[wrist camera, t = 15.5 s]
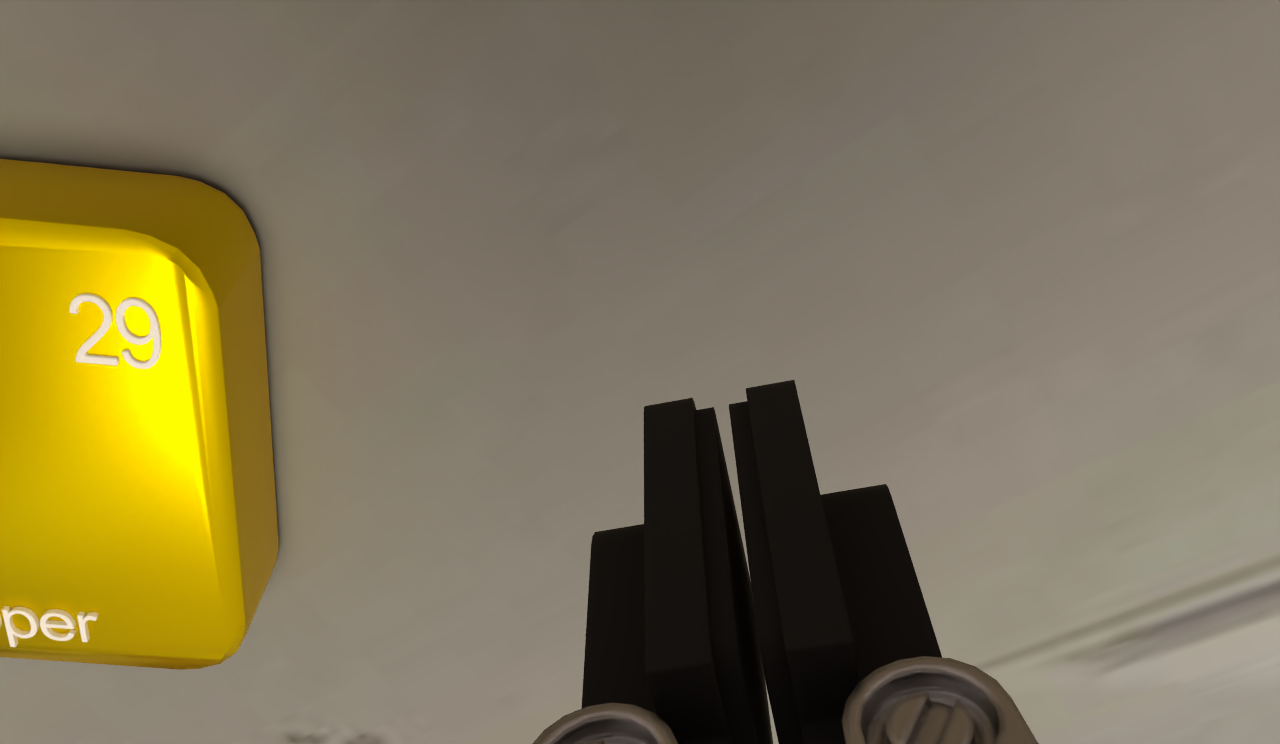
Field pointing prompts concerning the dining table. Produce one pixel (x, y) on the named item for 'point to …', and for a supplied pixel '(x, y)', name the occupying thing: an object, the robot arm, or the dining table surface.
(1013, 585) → the dining table surface
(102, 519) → the element tile
